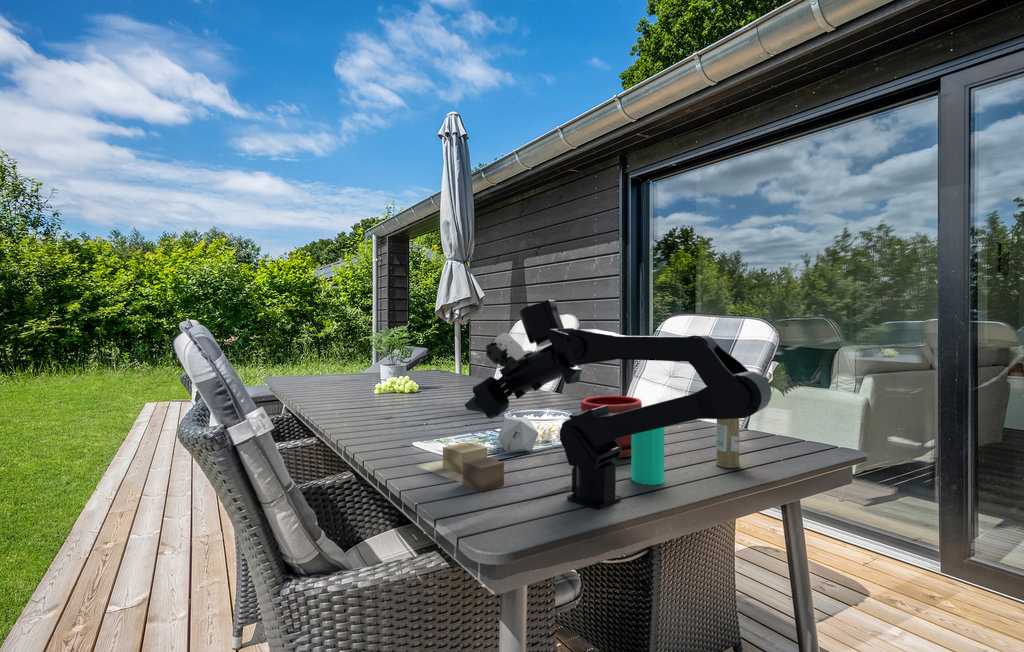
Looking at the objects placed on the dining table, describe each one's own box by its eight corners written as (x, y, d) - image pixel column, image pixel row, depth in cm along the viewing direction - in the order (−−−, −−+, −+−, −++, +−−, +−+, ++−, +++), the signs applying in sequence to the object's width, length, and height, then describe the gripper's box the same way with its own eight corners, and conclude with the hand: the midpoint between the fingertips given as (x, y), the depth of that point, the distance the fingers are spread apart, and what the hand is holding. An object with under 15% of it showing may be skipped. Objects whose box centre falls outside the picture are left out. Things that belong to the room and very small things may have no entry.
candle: (668, 478, 99) (668, 413, 99) (659, 486, 94) (659, 418, 93) (636, 473, 102) (636, 410, 102) (626, 481, 97) (626, 415, 96)
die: (489, 455, 117) (495, 426, 111) (505, 430, 124) (512, 401, 118) (523, 471, 115) (531, 442, 109) (537, 444, 122) (546, 416, 116)
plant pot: (607, 443, 126) (608, 393, 126) (654, 454, 116) (654, 399, 116) (568, 452, 118) (568, 398, 118) (614, 465, 108) (614, 405, 107)
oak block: (487, 468, 101) (487, 447, 101) (462, 474, 97) (462, 452, 97) (467, 462, 105) (467, 442, 105) (442, 468, 101) (442, 447, 101)
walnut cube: (503, 491, 91) (504, 462, 91) (481, 498, 88) (481, 468, 88) (484, 484, 95) (484, 456, 95) (462, 491, 91) (462, 462, 91)
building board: (509, 473, 101) (509, 468, 101) (459, 487, 93) (459, 481, 93) (463, 459, 111) (463, 454, 111) (414, 470, 103) (414, 465, 103)
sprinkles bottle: (742, 469, 105) (743, 401, 105) (719, 468, 105) (719, 400, 105) (735, 463, 109) (736, 397, 109) (712, 462, 110) (713, 397, 110)
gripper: (541, 313, 100) (484, 344, 109) (490, 344, 85) (428, 378, 94) (570, 364, 100) (511, 392, 109) (525, 404, 85) (459, 433, 94)
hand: (479, 396), depth 101 cm, fingers open, 9 cm apart
